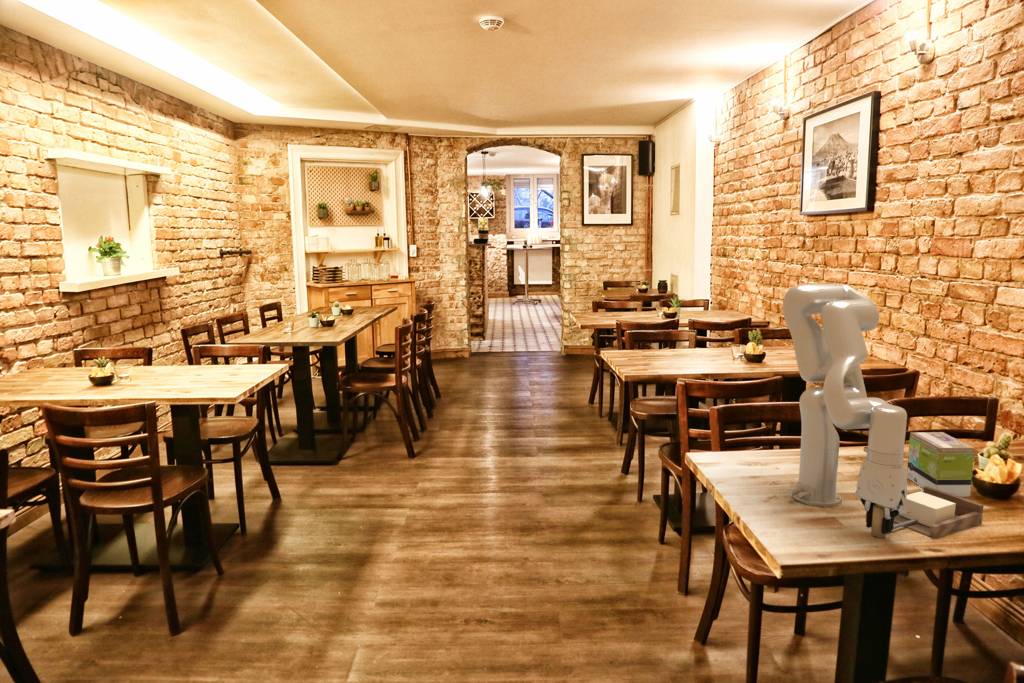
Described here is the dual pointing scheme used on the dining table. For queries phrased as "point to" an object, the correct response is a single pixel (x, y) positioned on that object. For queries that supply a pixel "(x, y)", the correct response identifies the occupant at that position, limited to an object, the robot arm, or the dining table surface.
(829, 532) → the dining table surface
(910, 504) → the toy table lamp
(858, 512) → the dining table surface
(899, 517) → the wooden frame
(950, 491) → the tea box
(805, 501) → the robot arm
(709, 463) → the dining table surface
